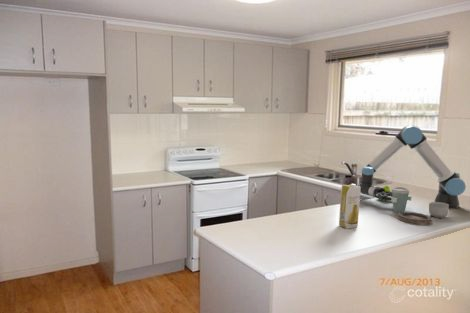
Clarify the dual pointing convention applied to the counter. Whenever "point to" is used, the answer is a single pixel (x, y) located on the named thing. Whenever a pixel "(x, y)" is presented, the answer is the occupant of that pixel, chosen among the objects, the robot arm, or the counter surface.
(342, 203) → the juice carton
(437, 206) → the teacup
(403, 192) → the disposable coffee cup
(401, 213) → the ring board
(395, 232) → the counter surface
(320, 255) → the counter surface
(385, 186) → the fruit basket
